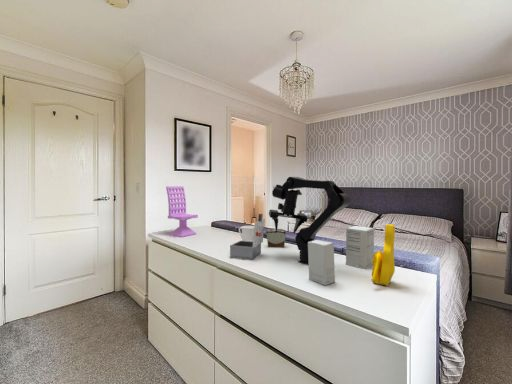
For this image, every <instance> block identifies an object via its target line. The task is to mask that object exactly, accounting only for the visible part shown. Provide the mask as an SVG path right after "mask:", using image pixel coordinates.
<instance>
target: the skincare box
mask: <svg viewBox="0 0 512 384" xmlns="http://www.w3.org/2000/svg"><path fill="white" fill-rule="evenodd" d="M334 245H335V244H334V242H331V241H327V240H326V241H325V240H320V239H314V241H310V242H308V261H309V265H308V279H309V280H310V281H313V282H315V283H318V284H321V285H324V286H327V285H331V284H333V283H335V282H336V275H335V273H336V271H335V268H336V267H335V247H334Z"/></svg>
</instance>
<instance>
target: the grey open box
mask: <svg viewBox="0 0 512 384" xmlns="http://www.w3.org/2000/svg"><path fill="white" fill-rule="evenodd" d="M229 249H230V250H229V251H230V252H229V258H230V259H239V260H249V261H254V260H255V259H256V258H257V257H259V256H260V255H262V243H260V244H259V245H257V246H256V247H253V242H250V241H242V240H239V241H237V242H234V243H232V244H230V245H229Z"/></svg>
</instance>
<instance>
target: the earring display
mask: <svg viewBox="0 0 512 384" xmlns="http://www.w3.org/2000/svg"><path fill="white" fill-rule="evenodd" d="M165 189H166V195H167V203H168V215H167V219H169V220H171V219H174V220H178V221H179V223H178V225H179V226H178V227H177V228H176V229H174V230H173V231H171V232H170V233H169V236H171V235H173V237H177V236H178V237H179V238H186V237H190V236H195V235H197V232H196V231H194V230H193V229H192V228H190V227H188V226H187V225H188V224H187V223H188V221H187V220H191V219H196V218H198V217H199V216H198V214H190V213H189V214H188V213H187V203H186V202H187V201H186V193H185V188H184V186H183V185H182V186H177V185H175V186H166V188H165Z"/></svg>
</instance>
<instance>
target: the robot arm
mask: <svg viewBox="0 0 512 384" xmlns="http://www.w3.org/2000/svg"><path fill="white" fill-rule="evenodd" d="M304 188H306V189H307V188H309V189H318V190H324V191H325V194H326V196H327V197H328V198H329V201H328V203H327V206H326V208H324V210H323V211H322V212H321V213H320V215H318V216H317V217H316V218H315V220H314V221H313V222H312V223H311V224H310V225H309V226H308V227H303V228H300V226H301V225H303V224H305V223H307V222H308V216H307V215H306V214H305V213H300V212H297V214H296V213H295V211H296V208H297V200H298V196H302V195H303V193H302V192H301V191H300V189H304ZM295 189H296V190H295ZM271 194H272V197H273V198H277V199H280V200H283V201H284V202H283V203H280V202H278V206H277V209H270V210H269V211H268V216H269V218H271V220H273V223H274V227H275V228H274V229H275V230H276V231H277V229H278V225H279V217H281V218H287V219H288V218H289V219H295V224H294V227H293V234H295V233H296V232H297V231H298V232H297V233H296V236H295V238H294V239H295V243H296V246H297V250H298V251H299V260H298V261H297V262H298V263H301V264H304V265H306V266H307V265H308V266H309V261H308V242H310V241H314V240H316V236H317V233H318V232H319V231H320V230H321V229H322V228H323V227H324V226H325V225H326V224H327V223H328V222H329V221H330V220H331V219H332V218H333V217H334V216H335V215H336V214H337V213H339V212H340V211H342V210H344V209H346V207H348V206H349V205H350V204H351V201H352V200H351V197H350V195H348V194H347V193H345V192H344V191H343V189H342V188H341V187H339V186H338V185H337V184H336V183H335V182H334V181H333V180H317V179H315V180H314V179H313V180H312V179H305V178H303V177H300V176H289V177H288V178H287V179H286V181H285V182H284V183H283V184H282V185H281V184H276V185H275V187H274V188H273V189H272V192H271ZM278 210H280V211H278ZM299 228H300V229H299ZM298 229H299V230H298Z"/></svg>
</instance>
